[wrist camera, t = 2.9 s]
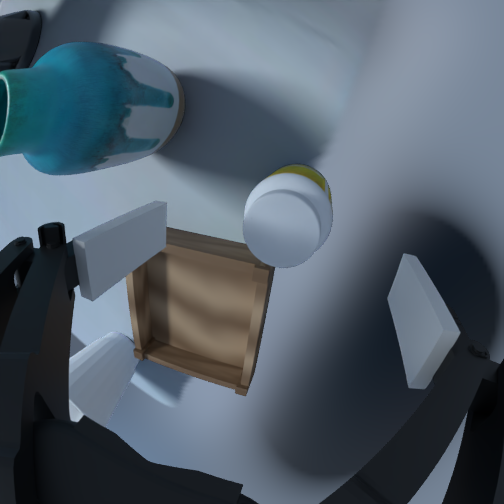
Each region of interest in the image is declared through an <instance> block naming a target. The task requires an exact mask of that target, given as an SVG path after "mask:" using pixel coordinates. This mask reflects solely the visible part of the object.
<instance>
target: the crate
mask: <svg viewBox="0 0 504 504" xmlns="http://www.w3.org/2000/svg"><path fill="white" fill-rule="evenodd" d="M274 270H275V267H273V266H270V265H268V264H265V263H264V262H262V261H261V260H259V259H258V258H257V257H255V256H254V255H253V253H252V252H251V251H250V249H249V248H248V246H247V244H243V243H238V242H234V241H229V240H224V239H220V238H215V237H211V236H206V235H201V234H197V233H192V232H187V231H183V230H178V229H173V228H169V227H166V247H165V248H164V249H163V250H161V251H160V252H158V253H157V254H156V255H154V256H153V257H151V258H150V259H149V260H147V261H146V262H144V263H143V264H142V265H140V266H139V267H138V268H136V269H135V270H134V271H132V272H131V273H130V274H128V275H127V276H126V284H127V293H128V301H129V309H130V317H131V324H132V330H133V337H134V343H135V349H134V350H133V352H134V357H135V358H137V359H140V360H142V361H143V360H144V359H145V358H146V359H148V360H151V361H153V362H156V363H158V364H161V365H163V366H166V367H169V368H171V369H174V370H177V371H179V372H182V373H185V374H188V375H191V376H193V377H196V378H199V379H202V380H205V381H208V382H212V383H215V384H218V385H221V386H225V387H228V388H232V389H235V393H236V394H239V395H243V396H246V394H247V392H248V389H249V386H250V383H251V381H252V378H253V375H254V372H255V368H256V363H257V358H258V353H259V348H260V343H261V338H262V333H263V328H264V323H265V318H266V313H267V308H268V302H269V297H270V292H271V287H272V281H273V276H274Z"/></svg>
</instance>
